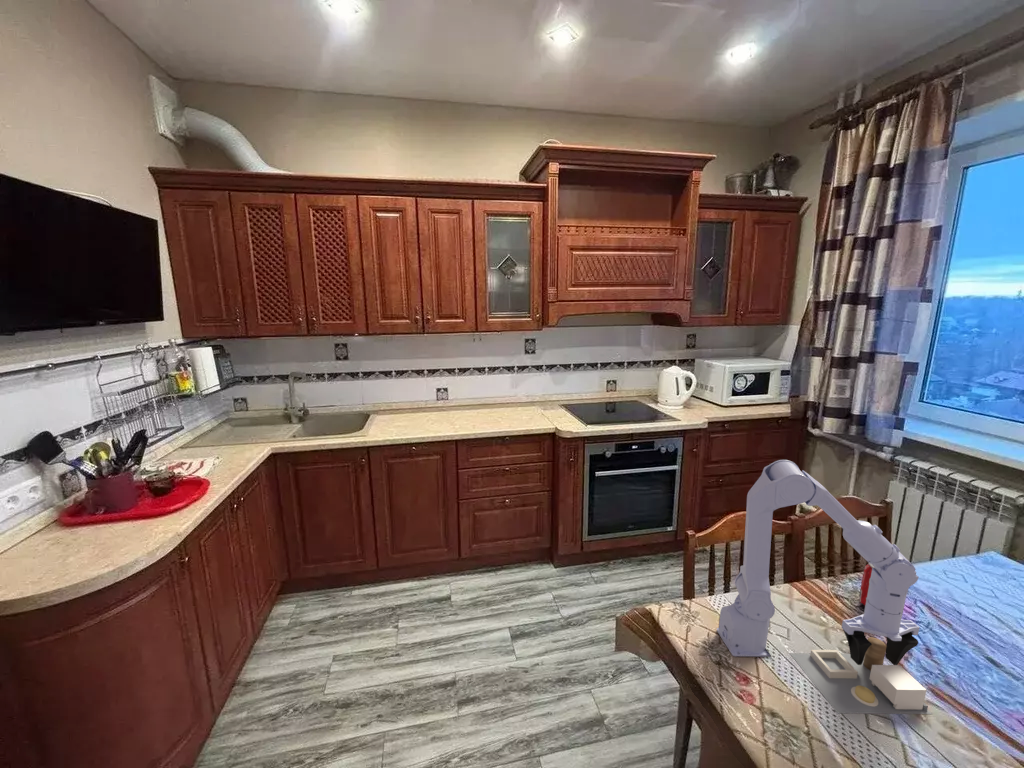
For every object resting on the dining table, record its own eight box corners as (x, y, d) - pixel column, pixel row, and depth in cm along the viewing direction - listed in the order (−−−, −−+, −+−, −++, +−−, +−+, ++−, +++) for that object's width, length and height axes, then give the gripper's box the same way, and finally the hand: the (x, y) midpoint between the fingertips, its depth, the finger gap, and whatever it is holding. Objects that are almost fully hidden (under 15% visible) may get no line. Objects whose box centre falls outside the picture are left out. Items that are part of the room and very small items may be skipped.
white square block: (893, 709, 80) (897, 689, 79) (868, 683, 86) (872, 664, 85) (922, 709, 80) (926, 690, 79) (895, 683, 86) (899, 665, 85)
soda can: (900, 620, 105) (909, 577, 103) (868, 615, 106) (876, 573, 104) (882, 601, 112) (889, 560, 110) (852, 597, 113) (859, 557, 111)
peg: (871, 672, 88) (876, 648, 87) (859, 661, 91) (864, 637, 90) (885, 673, 88) (890, 648, 87) (873, 661, 91) (878, 637, 90)
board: (836, 718, 80) (838, 706, 79) (788, 657, 93) (790, 647, 93) (931, 719, 80) (933, 707, 79) (869, 658, 93) (871, 647, 93)
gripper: (865, 618, 83) (854, 677, 86) (938, 619, 83) (925, 677, 86) (838, 594, 90) (829, 649, 92) (905, 595, 90) (894, 649, 92)
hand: (873, 661), depth 89 cm, fingers open, 7 cm apart
